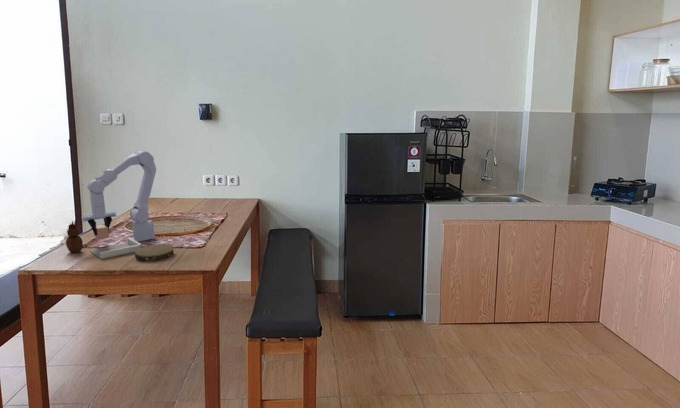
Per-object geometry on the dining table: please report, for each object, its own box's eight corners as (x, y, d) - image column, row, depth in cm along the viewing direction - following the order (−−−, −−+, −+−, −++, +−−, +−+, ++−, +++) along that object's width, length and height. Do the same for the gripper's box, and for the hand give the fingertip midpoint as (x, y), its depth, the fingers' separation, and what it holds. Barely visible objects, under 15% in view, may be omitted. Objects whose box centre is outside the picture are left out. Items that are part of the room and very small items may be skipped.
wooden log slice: (142, 251, 221) (141, 245, 220) (177, 250, 222) (177, 244, 221) (129, 262, 205) (129, 256, 204) (167, 261, 206) (167, 255, 205)
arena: (130, 243, 232) (129, 237, 231) (142, 250, 221) (142, 244, 220) (90, 251, 220) (89, 245, 219) (101, 259, 209) (100, 252, 208)
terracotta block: (104, 234, 232) (103, 224, 230) (109, 237, 226) (107, 226, 225) (94, 236, 229) (93, 226, 227) (99, 239, 223) (97, 228, 222)
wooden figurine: (85, 251, 220) (82, 219, 217) (73, 254, 215) (69, 222, 212) (77, 249, 224) (73, 217, 221) (65, 252, 219) (60, 220, 216)
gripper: (111, 202, 232) (114, 229, 235) (78, 206, 222) (82, 234, 225) (116, 204, 227) (119, 231, 230) (83, 209, 217) (86, 237, 220)
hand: (101, 233), depth 227 cm, fingers closed on terracotta block, 4 cm apart
